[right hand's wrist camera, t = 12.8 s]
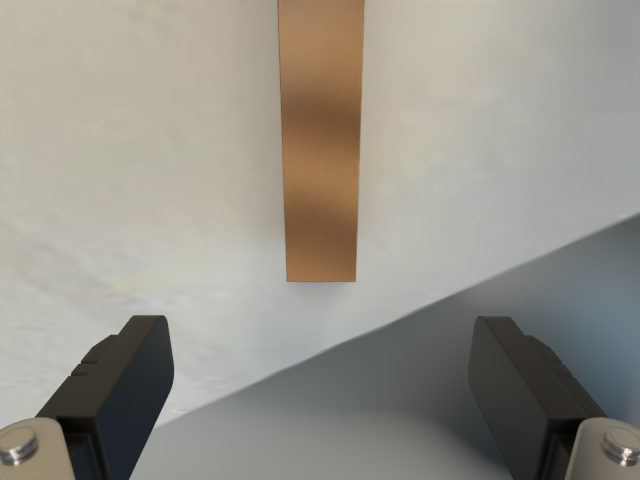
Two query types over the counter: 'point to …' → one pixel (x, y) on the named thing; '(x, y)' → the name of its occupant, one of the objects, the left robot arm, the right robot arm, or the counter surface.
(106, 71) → the counter surface
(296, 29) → the post
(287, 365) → the counter surface
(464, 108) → the counter surface
